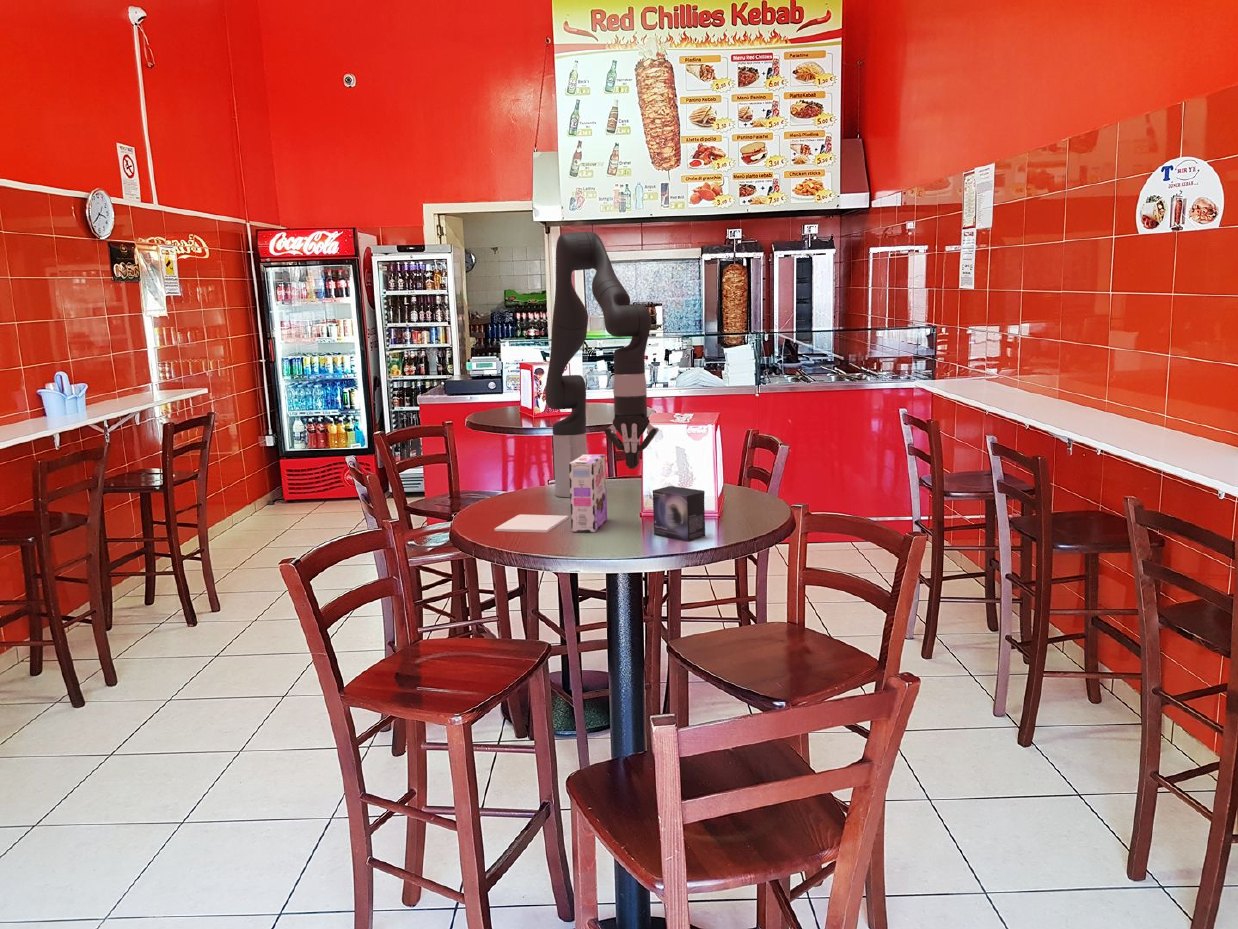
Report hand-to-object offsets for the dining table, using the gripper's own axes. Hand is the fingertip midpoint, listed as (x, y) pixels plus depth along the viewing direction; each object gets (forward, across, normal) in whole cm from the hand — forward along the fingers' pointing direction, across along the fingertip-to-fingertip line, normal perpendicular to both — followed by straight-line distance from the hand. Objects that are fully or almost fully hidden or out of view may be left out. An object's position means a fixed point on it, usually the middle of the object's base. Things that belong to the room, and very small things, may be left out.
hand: (632, 468), depth 222 cm
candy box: (+14, +11, 0) cm, 18 cm away
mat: (+14, +25, 0) cm, 29 cm away
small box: (+14, -12, +7) cm, 20 cm away
